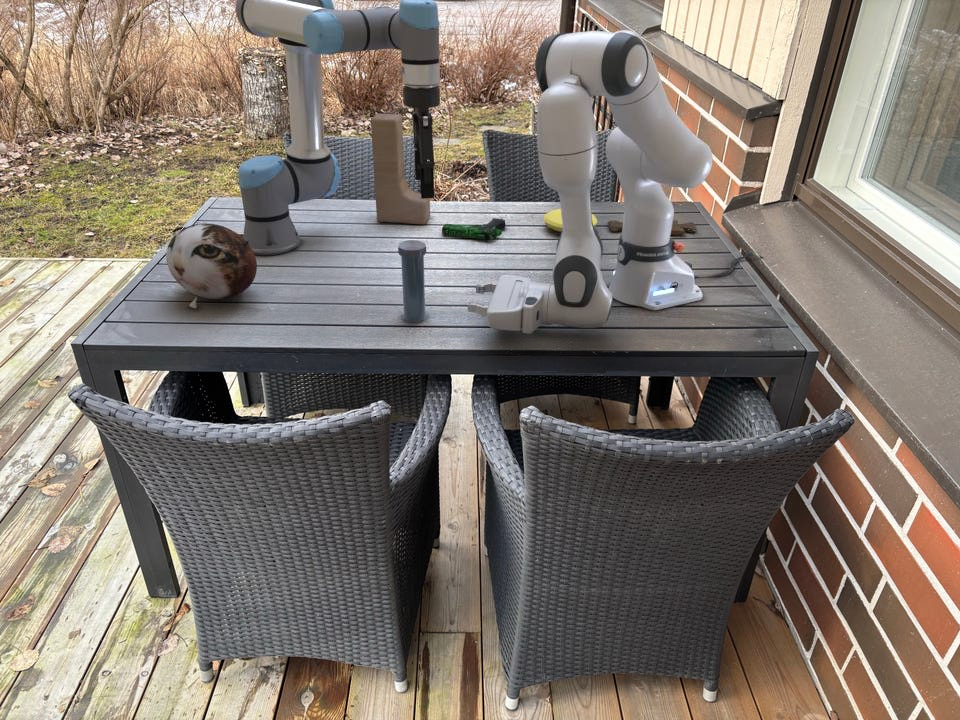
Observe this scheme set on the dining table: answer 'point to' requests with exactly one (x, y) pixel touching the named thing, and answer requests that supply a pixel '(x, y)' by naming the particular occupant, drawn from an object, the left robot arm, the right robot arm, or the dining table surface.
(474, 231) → the handgun
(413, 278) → the grey cylinder
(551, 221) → the yellow knobbed disc
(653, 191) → the right robot arm
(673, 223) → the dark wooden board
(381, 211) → the decorative block
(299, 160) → the left robot arm
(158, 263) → the dining table surface
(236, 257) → the cat face balloon
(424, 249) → the lid
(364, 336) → the dining table surface
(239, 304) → the dining table surface
